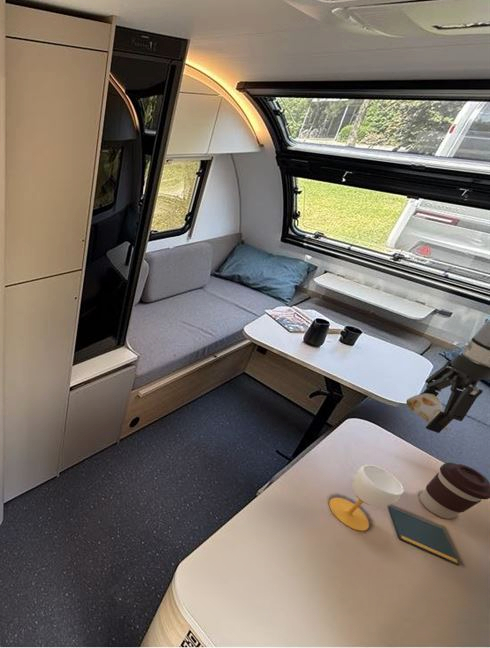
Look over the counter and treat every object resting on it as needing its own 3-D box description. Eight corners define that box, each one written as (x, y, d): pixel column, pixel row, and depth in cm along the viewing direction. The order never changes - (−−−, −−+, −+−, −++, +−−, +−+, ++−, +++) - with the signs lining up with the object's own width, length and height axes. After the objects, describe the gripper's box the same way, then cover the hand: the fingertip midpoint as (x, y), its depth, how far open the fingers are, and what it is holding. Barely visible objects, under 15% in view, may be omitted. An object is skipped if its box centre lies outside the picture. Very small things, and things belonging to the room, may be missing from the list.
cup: (325, 512, 98) (358, 477, 90) (332, 491, 104) (363, 456, 95) (366, 538, 93) (404, 503, 84) (370, 515, 98) (406, 480, 90)
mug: (430, 433, 100) (428, 399, 100) (401, 421, 110) (400, 389, 110) (461, 433, 99) (460, 398, 99) (430, 421, 108) (428, 388, 108)
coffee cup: (445, 528, 97) (485, 496, 89) (404, 494, 105) (438, 462, 97) (466, 519, 100) (508, 488, 92) (425, 487, 108) (460, 455, 100)
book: (442, 529, 97) (443, 528, 96) (458, 565, 89) (460, 564, 89) (387, 506, 101) (388, 505, 101) (399, 539, 93) (400, 538, 93)
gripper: (443, 334, 104) (397, 390, 115) (481, 378, 87) (422, 438, 98) (477, 343, 101) (427, 399, 113) (523, 390, 84) (458, 451, 95)
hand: (425, 417), depth 105 cm, fingers closed on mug, 10 cm apart
